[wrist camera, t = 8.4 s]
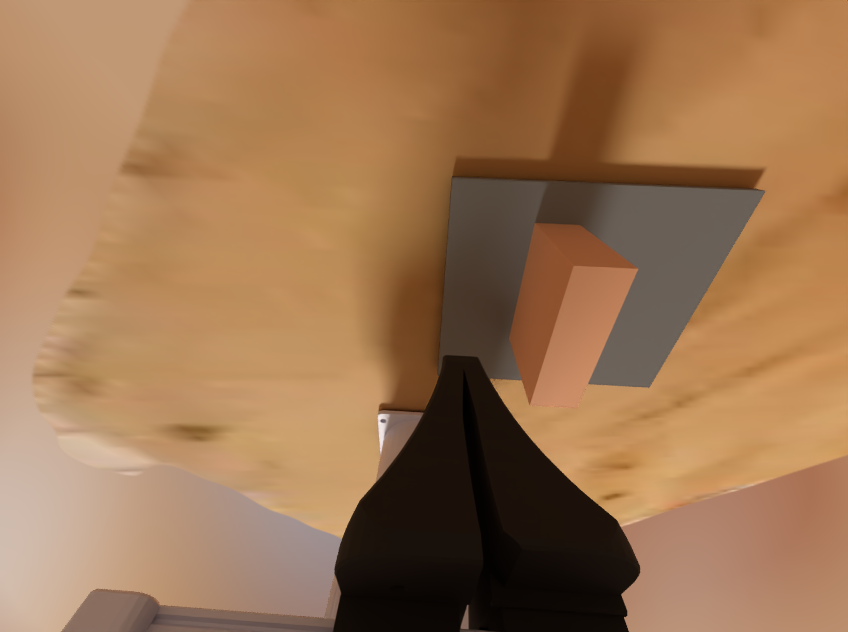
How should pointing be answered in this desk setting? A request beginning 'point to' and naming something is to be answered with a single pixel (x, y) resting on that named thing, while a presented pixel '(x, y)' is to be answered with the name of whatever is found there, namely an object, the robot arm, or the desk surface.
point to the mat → (616, 227)
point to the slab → (566, 311)
